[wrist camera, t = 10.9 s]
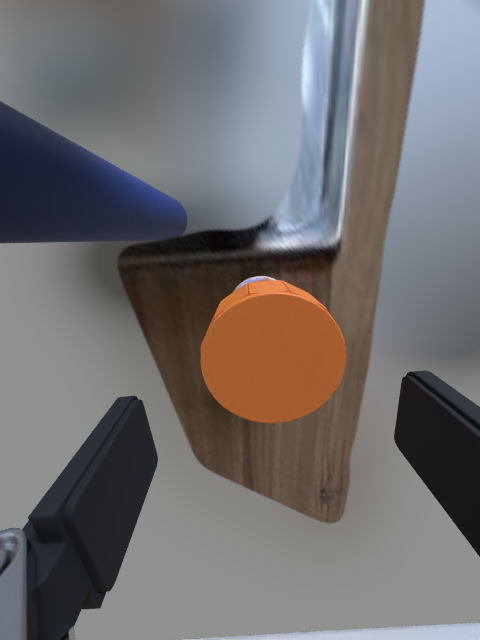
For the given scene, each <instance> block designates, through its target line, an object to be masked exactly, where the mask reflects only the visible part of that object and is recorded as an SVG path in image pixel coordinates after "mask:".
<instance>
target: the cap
mask: <svg viewBox="0 0 480 640" xmlns="http://www.w3.org/2000/svg"><path fill="white" fill-rule="evenodd" d="M200 350H201V370H202V374H203V378H204V380H205V383H206V385H207V387H208V389H209V391H210V392H211V394H212V395H213V396H214V398H215V399H216V400H217V401H218V402H219V403H220V404H221V405H222V406H223V407H225V408H226V409H227V410H229V411H230V412H232V413H233V414H235V415H237V416H240V417H242V418H244V419H247V420H251V421H255V422H261V423H281V422H288V421H292V420H295V419H298V418H301V417H304V416H306V415H308V414H310V413H312V412H313V411H315V410H317V409H318V408H319V407H321V406H322V405H323V404H324V403H325V402H326V401H327V400H328V399H329V398H330V397H331V396H332V395H333V393H334V392H335V391H336V389H337V387H338V386H339V384H340V382H341V380H342V377H343V374H344V371H345V367H346V346H345V341H344V338H343V335H342V332H341V330H340V328H339V326H338V325H337V323H336V322H335V321H334V319H333V318H332V317H331V315H330V314H329V312H328V311H327V309H326V308H325V307H324V306H323V305H322V304H321V303H320V302H319V301H317V300H316V299H315V298H314V297H313V296H312V295H310V294H309V293H307V292H305V291H303V290H301V289H299V288H297V287H295V286H293V285H290V284H288V283H286V282H284V281H281V280H275V281H263V282H251V283H248V284H247V283H246V284H245V285H243V286H242V287H241V288H239V289H238V290H236V291H235V292H233V293H232V294H230V295H229V296H227V297H226V298H225V299H223V300H222V301H221V302H220V303H219V306H218V308H217V310H216V312H215V314H214V317H213V319H212V321H211V323H210V325H209V328H208V330H207V332H206V335H205V337H204V340H203V342H202V344H201V348H200Z"/></svg>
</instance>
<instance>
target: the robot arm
mask: <svg viewBox="0 0 480 640" xmlns="http://www.w3.org/2000/svg"><path fill="white" fill-rule="evenodd" d="M394 439H395V443H396V445H397V447H398V448H399V450H400V451H401V452H402V454H403V455H404V456H405V458H406V459H407V460H408V462H409V463H410V464H411V466H412V467H413V468H414V470H415V471H416V472H417V474H418V475H419V476H420V478H421V479H422V480H423V482H424V483H425V484H426V486H427V487H428V488H429V490H430V491H431V492H432V494H433V495H434V496H435V498H436V499H437V500H438V502H439V503H440V504H441V506H442V507H443V508H444V510H445V511H446V512H447V514H448V515H449V516H450V518H451V519H452V520H453V522H454V523H455V524H456V526H457V527H458V528H459V530H460V531H461V532H462V534H463V535H464V536H465V538H466V539H467V540H468V542H469V543H470V544H471V546H472V547H473V548H474V550H475V551H476V552H477V554H478V555H479V556H480V407H479V406H477V405H476V404H475V403H473V402H472V401H470V400H469V399H468V398H466V397H465V396H463V395H462V394H460V393H459V392H458V391H456V390H455V389H453V388H452V387H451V386H449V385H448V384H446V383H445V382H444V381H442V380H441V379H440V378H438V377H437V376H435V375H434V374H432V373H431V372H429V371H415V372H409V373H407V375H406V377H403V379H402V383H401V390H400V397H399V405H398V412H397V420H396V427H395V435H394ZM157 461H158V457H157V452H156V448H155V445H154V441H153V437H152V434H151V430H150V427H149V423H148V419H147V416H146V412H145V408H144V405H143V402H142V400H138V398H137V397H136V396H128V397H119V398H118V399H117V400H116V401H115V402H114V404H113V405H112V406H111V408H110V409H109V410H108V412H107V413H106V414H105V416H104V417H103V418H102V420H101V421H100V422H99V424H98V425H97V427H96V428H95V429H94V430H93V431H92V433H91V434H90V435H89V437H88V438H87V439H86V441H85V442H84V443H83V445H82V446H81V448H80V449H79V450H78V452H77V453H76V454H75V456H74V457H73V458H72V460H71V461H70V462H69V463H68V465H67V466H66V467H65V469H64V470H63V471H62V473H61V474H60V476H59V477H58V478H57V480H56V481H55V482H54V483H53V485H52V486H51V488H50V489H49V490H48V491H47V493H46V494H45V496H44V497H43V498H42V500H41V501H40V502H39V504H38V505H37V506H36V507H35V509H34V510H33V511H32V513H31V514H30V515H29V517H28V519H29V521H28V523H27V524H26V525H25V527H24V528H23V529H22V530H21V529H19V528H9V529H5V530H2V531H0V640H75V632H74V625H75V623H76V621H77V618H78V616H79V613H80V611H81V609H96V608H100V607H101V605H102V602H103V599H104V597H105V594H106V591H110V590H111V589H112V587H113V586H114V583H115V581H116V578H117V576H118V573H119V570H120V567H121V564H122V562H123V559H124V556H125V553H126V551H127V548H128V545H129V542H130V539H131V537H132V533H133V531H134V528H135V525H136V523H137V520H138V517H139V514H140V511H141V508H142V506H143V503H144V500H145V498H146V494H147V492H148V489H149V486H150V484H151V481H152V478H153V475H154V472H155V470H156V467H157ZM182 640H480V622H479V623H461V624H460V623H459V624H439V625H420V626H402V627H383V628H366V629H348V630H330V631H313V632H295V633H278V634H262V635H244V636H230V637H214V638H198V639H182Z"/></svg>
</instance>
